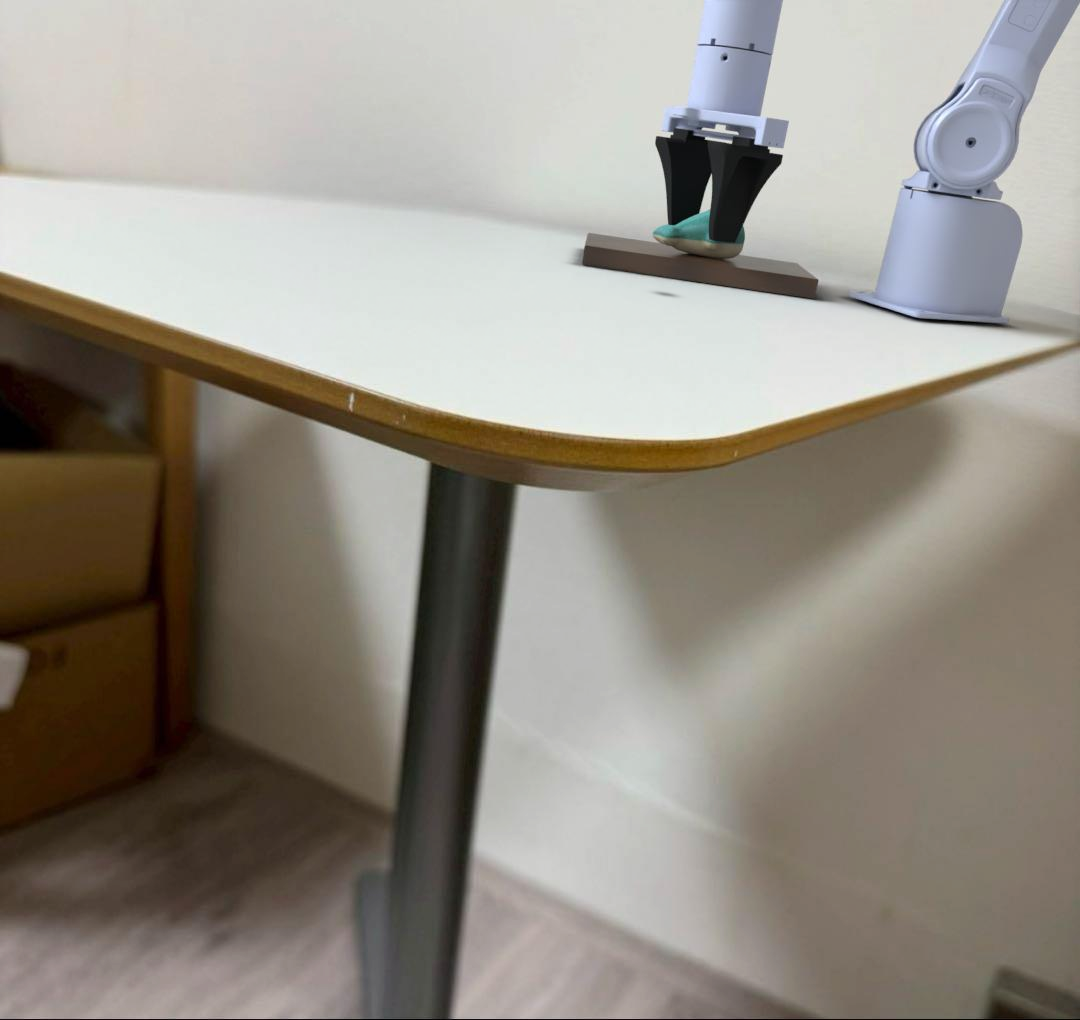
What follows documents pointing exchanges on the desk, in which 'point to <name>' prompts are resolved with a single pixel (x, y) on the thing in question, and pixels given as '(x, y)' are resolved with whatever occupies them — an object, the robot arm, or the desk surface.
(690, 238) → the whale figurine
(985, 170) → the robot arm
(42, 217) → the desk surface
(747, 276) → the walnut board
